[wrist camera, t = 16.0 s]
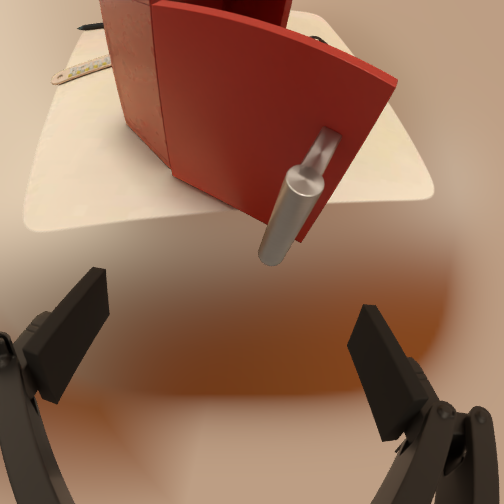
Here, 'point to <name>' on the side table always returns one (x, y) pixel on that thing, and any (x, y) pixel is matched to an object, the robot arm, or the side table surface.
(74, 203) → the side table surface
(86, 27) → the pen
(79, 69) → the beige remote control
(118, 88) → the cabinet
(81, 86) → the side table surface
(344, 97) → the door
